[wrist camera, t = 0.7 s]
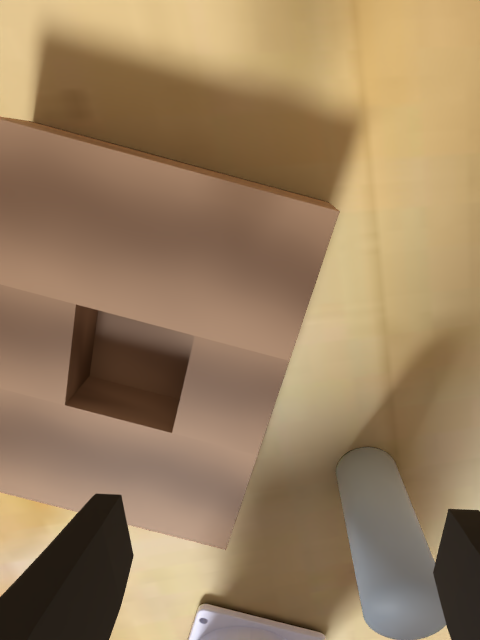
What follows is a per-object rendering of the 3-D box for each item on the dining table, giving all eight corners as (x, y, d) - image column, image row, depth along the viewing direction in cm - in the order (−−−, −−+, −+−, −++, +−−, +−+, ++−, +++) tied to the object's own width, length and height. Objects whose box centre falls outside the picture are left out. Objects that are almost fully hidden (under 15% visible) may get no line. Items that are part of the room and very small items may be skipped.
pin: (383, 500, 22) (430, 648, 15) (327, 486, 22) (350, 628, 15) (406, 456, 21) (467, 593, 14) (347, 440, 20) (381, 571, 14)
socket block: (231, 501, 22) (226, 550, 20) (13, 444, 22) (-25, 486, 19) (328, 202, 17) (339, 211, 14) (32, 121, 16) (-18, 114, 14)
